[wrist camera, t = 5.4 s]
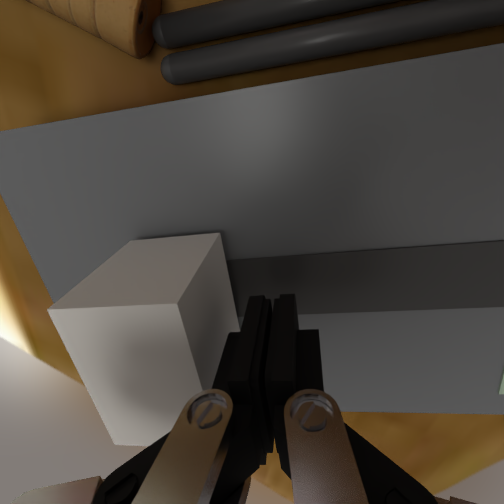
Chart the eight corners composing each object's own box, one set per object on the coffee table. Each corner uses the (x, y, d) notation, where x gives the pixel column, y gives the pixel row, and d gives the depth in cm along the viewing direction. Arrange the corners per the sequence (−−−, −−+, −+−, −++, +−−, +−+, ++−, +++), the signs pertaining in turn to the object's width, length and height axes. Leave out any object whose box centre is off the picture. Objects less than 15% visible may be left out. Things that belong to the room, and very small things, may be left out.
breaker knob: (219, 232, 13) (176, 303, 8) (243, 347, 15) (219, 449, 11) (130, 240, 14) (47, 309, 9) (166, 348, 16) (114, 444, 12)
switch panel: (678, -99, 10) (887, -209, 7) (541, 354, 18) (602, 418, 15) (13, 53, 15) (-78, 38, 11) (134, 359, 23) (103, 408, 19)
